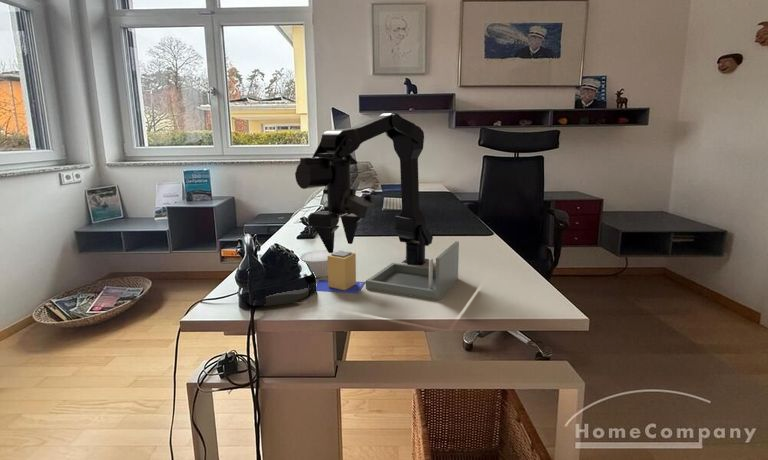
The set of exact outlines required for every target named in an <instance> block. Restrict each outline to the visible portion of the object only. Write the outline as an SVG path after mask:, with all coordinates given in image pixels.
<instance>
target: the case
mask: <svg viewBox="0 0 768 460" xmlns="http://www.w3.org/2000/svg"><path fill="white" fill-rule="evenodd" d="M459 249H460V242H459V240H458V241H454V242H453V243H452V244H450V246H448V247H447V248H446V249H445V250H444V251H443V252H441V253H440V254H439V255H438V256H437V257H436V258H435V267H434V258H428V259H429V261H428V267H427V266H423V265H413V264H406V263H397V262H391V263H390V264H389V265H387V266H386V267H384V268H383V269H381V270H380V271H378V272H376V273H375V274H374V275H372V276H371V277H369V278H367V279H366V280H365V289H366V290H371V291H377V292H383V293H384V292H385V293H390V294H396V295H397V294H398V295H403V296H409V297H415V298H421V299H428V300H431V301H432V300H433V301H440V299H441V298H442V297H443V296H444V295H445V294H446V293H447V291H449V289H450V288H451V287H452V286H453V285H454V284H455V283H456V282H457V280H458V279H459V259H460V258H459V256H460V255H459V251H460V250H459Z"/></svg>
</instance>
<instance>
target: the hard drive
mask: <svg viewBox="0 0 768 460" xmlns="http://www.w3.org/2000/svg"><path fill="white" fill-rule="evenodd" d="M315 284H317V287H316V291H315V292H325V293H342V294H343V293H344V294H358V295H359V293H360V291H361V290H362V288H363V287H364V285H366V281H357V280H356V284H355V285H353V286H352V287H350V288H348V289H347V290H342V289H337V288H332V287H328V279H319V280H318V281H317V282H316V283H315Z"/></svg>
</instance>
